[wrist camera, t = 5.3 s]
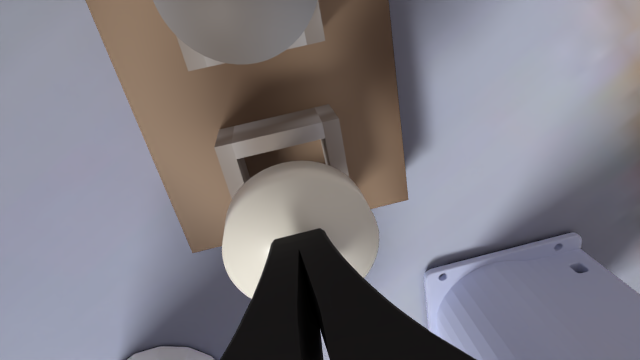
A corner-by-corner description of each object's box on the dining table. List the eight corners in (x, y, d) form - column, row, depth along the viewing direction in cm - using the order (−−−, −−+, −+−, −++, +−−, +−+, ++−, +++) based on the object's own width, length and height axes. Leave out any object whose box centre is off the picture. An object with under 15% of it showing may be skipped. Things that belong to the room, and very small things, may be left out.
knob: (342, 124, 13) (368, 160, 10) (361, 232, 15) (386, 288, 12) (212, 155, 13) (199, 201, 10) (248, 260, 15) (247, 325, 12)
